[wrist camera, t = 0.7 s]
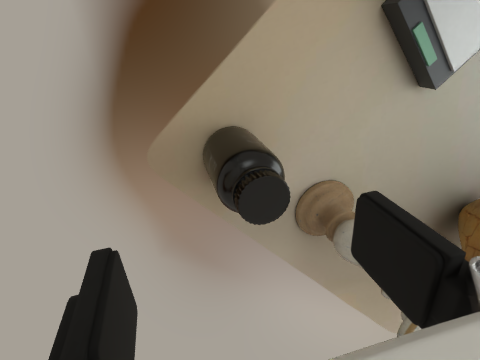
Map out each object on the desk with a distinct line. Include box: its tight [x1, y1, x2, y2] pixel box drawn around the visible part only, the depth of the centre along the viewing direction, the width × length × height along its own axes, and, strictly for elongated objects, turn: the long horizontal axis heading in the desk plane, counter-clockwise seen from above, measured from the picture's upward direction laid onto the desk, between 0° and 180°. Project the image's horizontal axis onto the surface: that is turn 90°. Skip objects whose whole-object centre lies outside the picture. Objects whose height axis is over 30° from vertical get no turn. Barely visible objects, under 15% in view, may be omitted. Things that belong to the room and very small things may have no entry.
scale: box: [382, 0, 480, 90], centre depth 32 cm, size 12×14×3 cm
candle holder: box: [296, 181, 421, 337], centre depth 33 cm, size 9×9×20 cm
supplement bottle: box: [203, 126, 290, 225], centre depth 30 cm, size 7×7×12 cm
